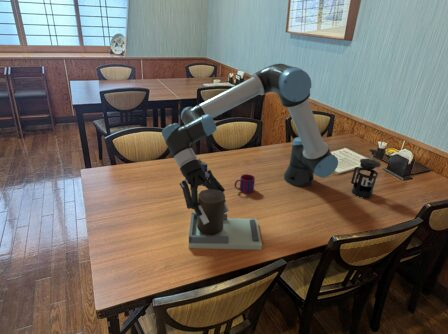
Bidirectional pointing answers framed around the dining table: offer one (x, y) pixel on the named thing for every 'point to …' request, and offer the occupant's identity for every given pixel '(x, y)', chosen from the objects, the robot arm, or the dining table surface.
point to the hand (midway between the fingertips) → (217, 217)
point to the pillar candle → (211, 211)
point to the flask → (203, 166)
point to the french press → (363, 182)
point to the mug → (246, 183)
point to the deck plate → (227, 235)
